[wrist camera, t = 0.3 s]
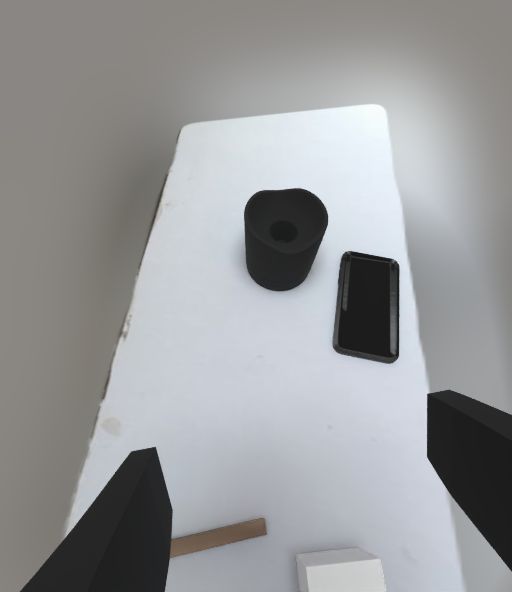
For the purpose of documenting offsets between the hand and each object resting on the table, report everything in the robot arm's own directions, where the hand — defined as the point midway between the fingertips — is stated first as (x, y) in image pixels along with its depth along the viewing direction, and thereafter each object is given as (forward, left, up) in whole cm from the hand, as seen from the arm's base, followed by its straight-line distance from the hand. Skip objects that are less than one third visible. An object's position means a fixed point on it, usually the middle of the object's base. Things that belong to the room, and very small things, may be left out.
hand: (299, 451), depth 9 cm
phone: (+17, -18, -30) cm, 39 cm away
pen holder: (+25, -8, -30) cm, 40 cm away
